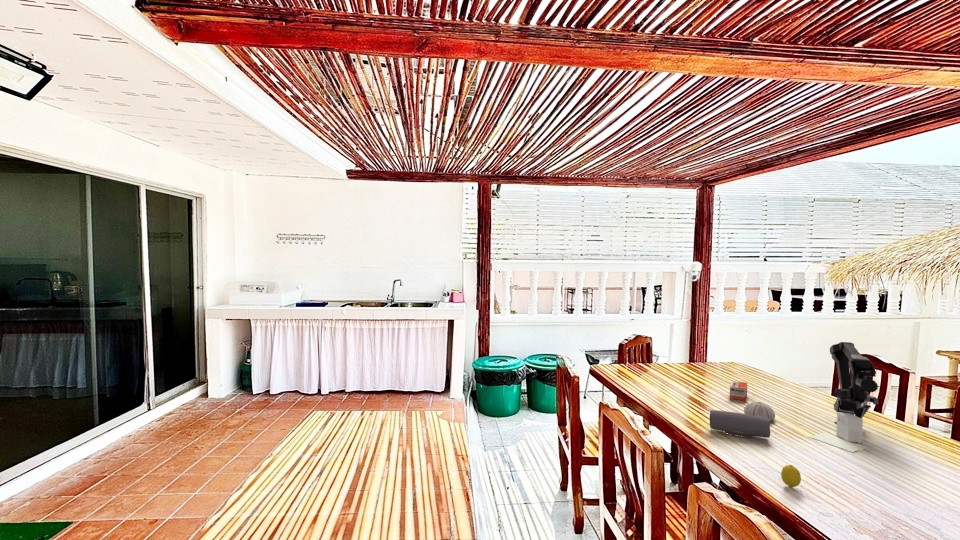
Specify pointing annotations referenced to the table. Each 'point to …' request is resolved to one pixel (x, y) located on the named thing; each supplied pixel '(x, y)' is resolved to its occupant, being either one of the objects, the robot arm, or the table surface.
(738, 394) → the medicine box
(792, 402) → the table surface
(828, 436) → the mat
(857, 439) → the small box
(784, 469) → the lemon
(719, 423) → the bluetooth speaker
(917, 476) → the table surface
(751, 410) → the sea urchin shell
